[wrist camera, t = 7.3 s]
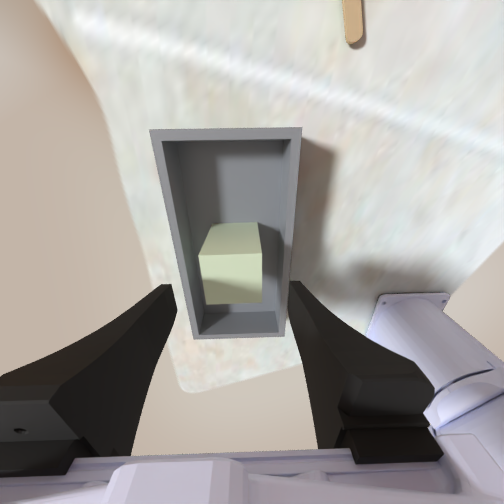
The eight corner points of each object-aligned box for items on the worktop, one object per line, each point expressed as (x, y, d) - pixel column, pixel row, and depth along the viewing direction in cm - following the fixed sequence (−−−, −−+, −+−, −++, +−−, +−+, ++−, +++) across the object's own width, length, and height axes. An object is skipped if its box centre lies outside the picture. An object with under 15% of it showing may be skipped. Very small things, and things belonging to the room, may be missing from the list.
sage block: (257, 260, 20) (262, 302, 15) (217, 262, 20) (206, 304, 15) (257, 222, 18) (262, 253, 13) (212, 223, 18) (198, 255, 13)
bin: (279, 310, 24) (284, 336, 21) (201, 312, 24) (193, 339, 20) (290, 131, 16) (302, 127, 12) (170, 133, 15) (148, 129, 12)
